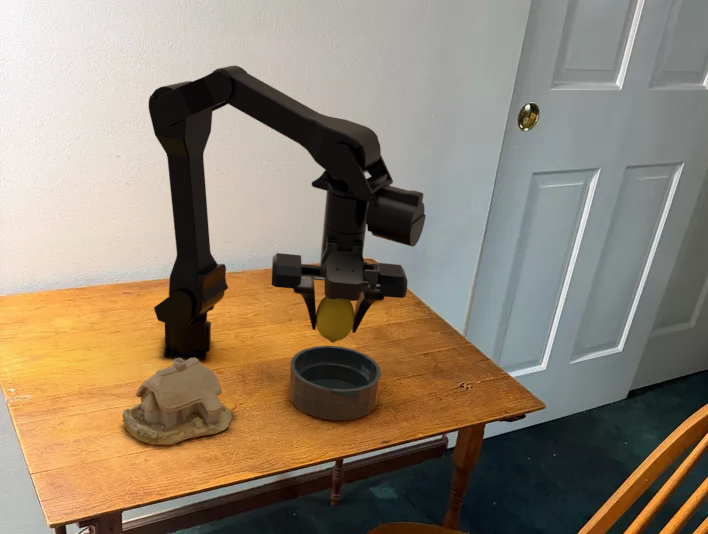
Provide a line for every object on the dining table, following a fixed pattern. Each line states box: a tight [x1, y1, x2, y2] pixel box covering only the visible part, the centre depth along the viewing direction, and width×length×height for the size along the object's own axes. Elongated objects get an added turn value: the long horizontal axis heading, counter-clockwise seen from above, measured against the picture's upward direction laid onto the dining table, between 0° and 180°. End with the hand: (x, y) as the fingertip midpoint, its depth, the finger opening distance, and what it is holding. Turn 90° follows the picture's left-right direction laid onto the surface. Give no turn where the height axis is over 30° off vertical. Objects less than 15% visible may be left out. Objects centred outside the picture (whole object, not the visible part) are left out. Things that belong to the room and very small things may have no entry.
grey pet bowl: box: [288, 345, 382, 421], centre depth 120 cm, size 14×14×6 cm
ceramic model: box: [121, 357, 232, 445], centre depth 107 cm, size 14×11×10 cm
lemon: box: [316, 295, 355, 344], centre depth 114 cm, size 6×6×8 cm
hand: (333, 330), depth 115 cm, fingers closed on lemon, 5 cm apart
